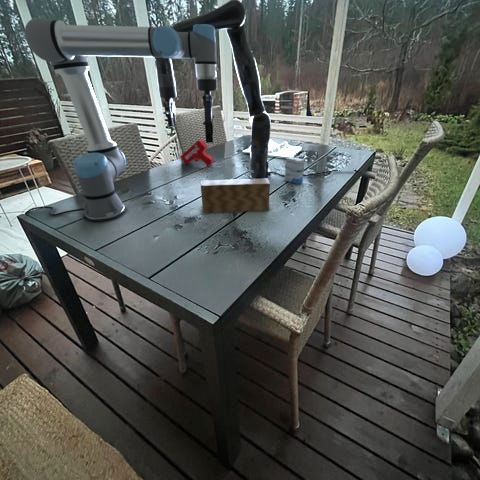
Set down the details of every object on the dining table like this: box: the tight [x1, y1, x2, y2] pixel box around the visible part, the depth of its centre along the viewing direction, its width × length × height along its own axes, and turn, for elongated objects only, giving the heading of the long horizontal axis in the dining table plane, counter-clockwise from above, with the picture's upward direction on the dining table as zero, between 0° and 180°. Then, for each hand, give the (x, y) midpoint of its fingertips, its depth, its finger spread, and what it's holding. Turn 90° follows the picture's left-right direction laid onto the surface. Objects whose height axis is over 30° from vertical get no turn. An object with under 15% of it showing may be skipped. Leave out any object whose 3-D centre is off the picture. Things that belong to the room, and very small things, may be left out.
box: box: [200, 177, 271, 214], centre depth 113 cm, size 28×6×12 cm, turn 94°
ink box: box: [284, 156, 306, 185], centre depth 140 cm, size 8×5×12 cm, turn 47°
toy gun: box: [179, 138, 215, 167], centre depth 167 cm, size 18×4×15 cm
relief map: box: [242, 138, 304, 160], centre depth 192 cm, size 27×35×5 cm
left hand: (209, 138), depth 111 cm, fingers open, 13 cm apart
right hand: (172, 124), depth 129 cm, fingers open, 8 cm apart
